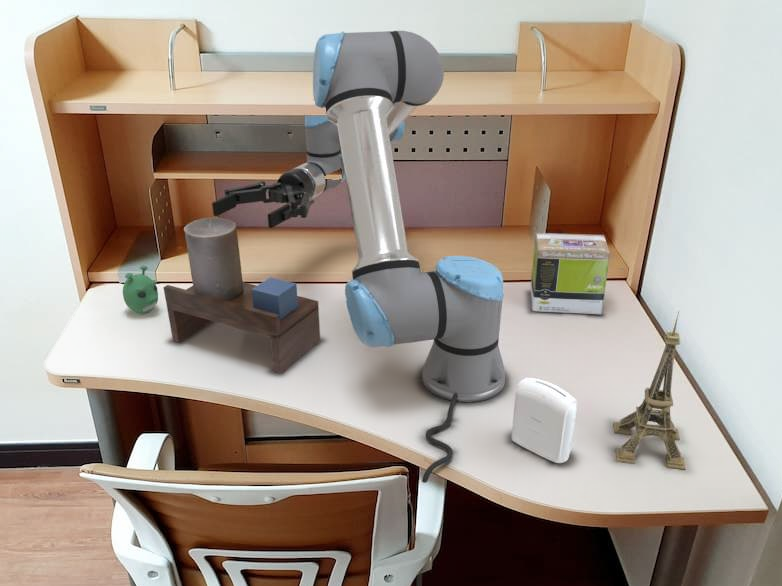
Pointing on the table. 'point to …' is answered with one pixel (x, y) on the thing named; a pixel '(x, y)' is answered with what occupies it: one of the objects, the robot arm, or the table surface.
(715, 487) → the table surface
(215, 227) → the pillar candle
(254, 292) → the slate box
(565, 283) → the tea box
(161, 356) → the table surface
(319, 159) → the robot arm
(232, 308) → the shelf
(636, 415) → the eiffel tower
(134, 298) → the alien toy
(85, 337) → the table surface
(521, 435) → the photo printer
